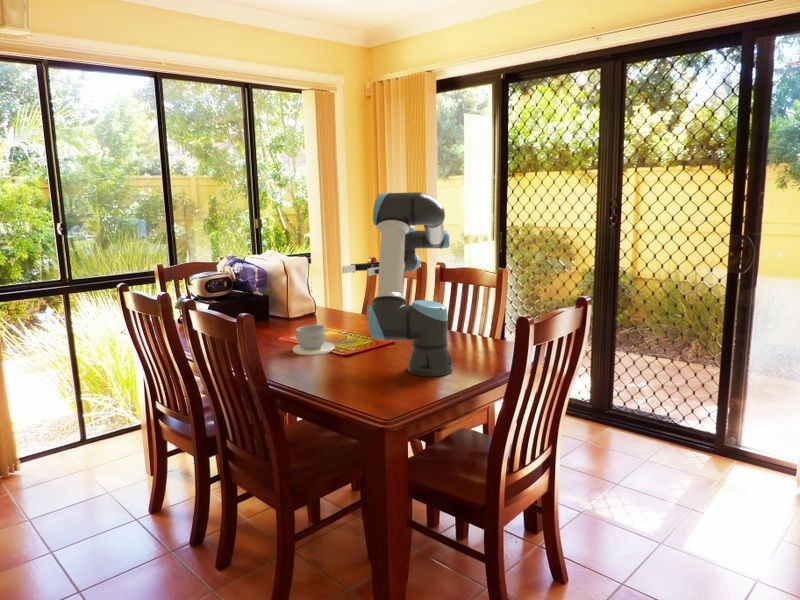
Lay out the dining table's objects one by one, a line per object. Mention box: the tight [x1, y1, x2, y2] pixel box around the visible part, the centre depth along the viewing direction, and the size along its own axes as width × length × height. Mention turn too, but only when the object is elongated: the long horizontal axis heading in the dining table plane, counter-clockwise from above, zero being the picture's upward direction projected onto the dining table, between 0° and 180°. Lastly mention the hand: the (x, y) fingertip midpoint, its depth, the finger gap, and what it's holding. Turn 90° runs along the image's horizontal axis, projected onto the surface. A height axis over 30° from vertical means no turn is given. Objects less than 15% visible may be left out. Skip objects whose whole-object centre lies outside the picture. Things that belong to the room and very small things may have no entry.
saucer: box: [292, 341, 336, 356], centre depth 228 cm, size 16×16×1 cm
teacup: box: [295, 323, 326, 350], centre depth 227 cm, size 14×11×8 cm
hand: (355, 271), depth 230 cm, fingers open, 13 cm apart
